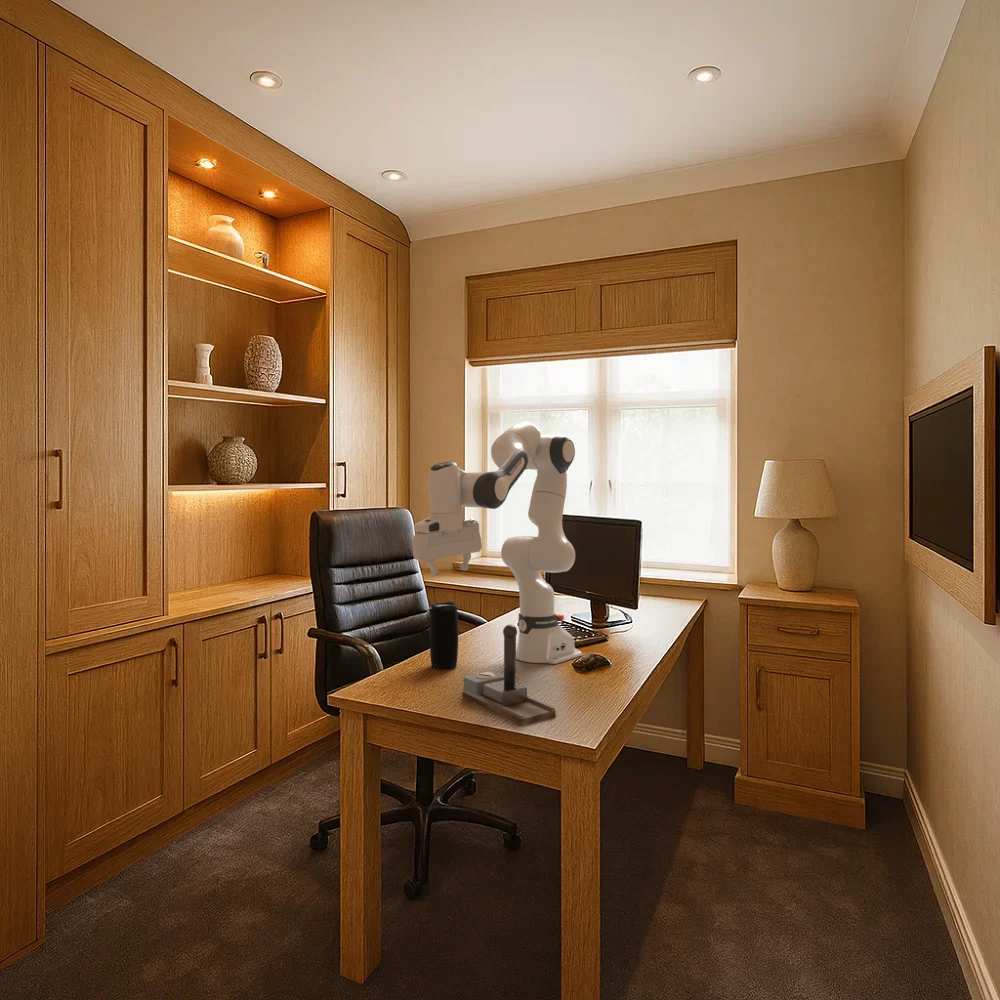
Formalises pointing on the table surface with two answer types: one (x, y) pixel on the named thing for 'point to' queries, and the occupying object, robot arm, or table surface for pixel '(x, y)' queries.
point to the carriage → (507, 675)
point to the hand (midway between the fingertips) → (449, 572)
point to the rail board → (515, 709)
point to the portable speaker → (444, 635)
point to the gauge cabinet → (481, 681)
